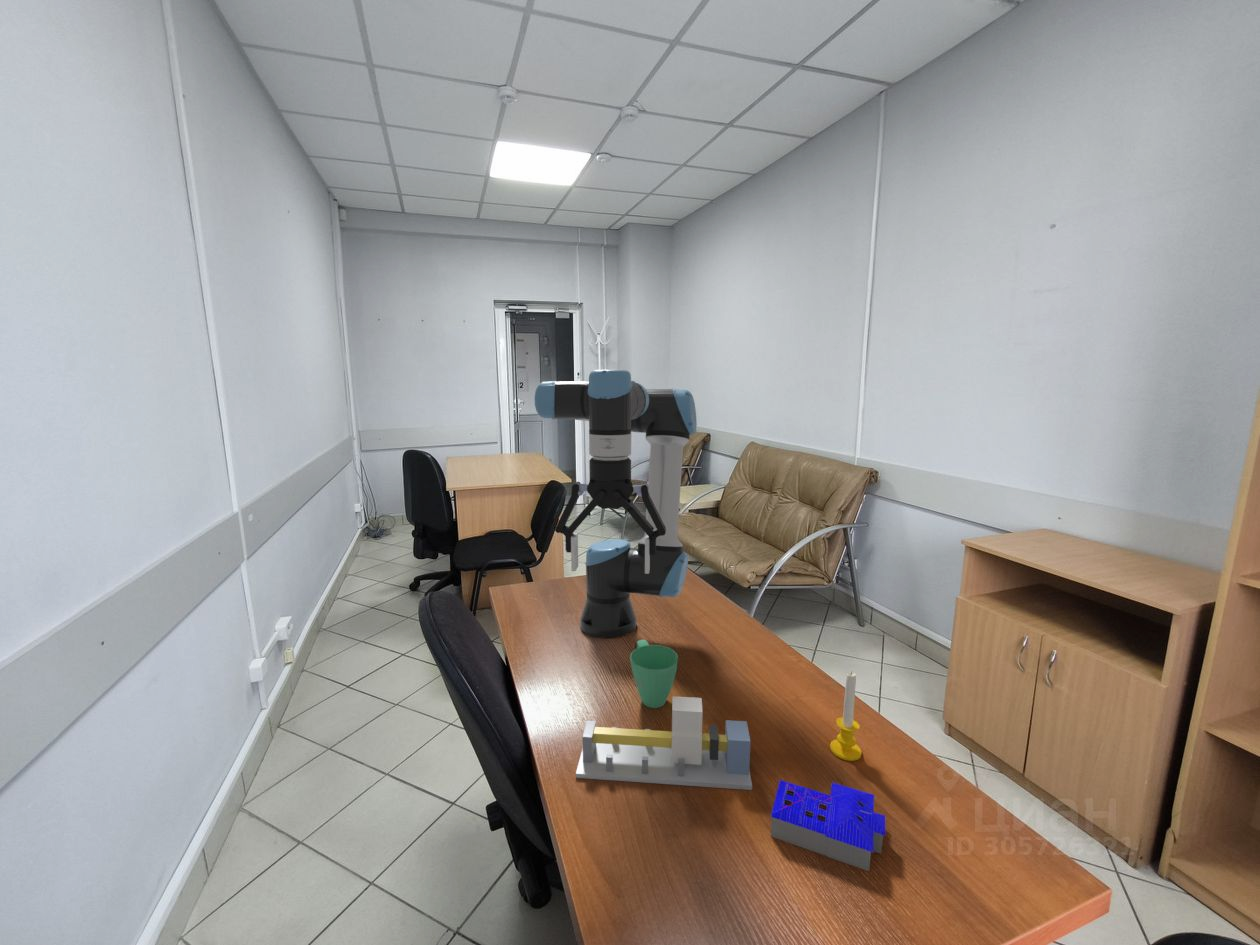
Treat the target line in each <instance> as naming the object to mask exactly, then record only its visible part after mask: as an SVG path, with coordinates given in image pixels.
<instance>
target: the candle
mask: <svg viewBox="0 0 1260 945" xmlns="http://www.w3.org/2000/svg"><path fill="white" fill-rule="evenodd" d="M846 674H847V675H846V679H845V687H844V688H845V689H844V701H843V711H842V712H843V714H842V716H841V717H838V718H836V721H835V724H836V725H837V726H838V727H839V728H840V731H839V732H840V733H838V734H837V736H836V739H833V740H832V741H831V742H830V745H829V747H830V751H831V753H832V754H833V755H834V756H836V757H837V758H839V759H841V760H844V761H847V762H855V761H858V760H860V759H861V757H862V753H863V752H862V749H861V748H860V746H859V745H858V744H857V739H856V738H855V737H854V735H855V733H854V732H857V731H859V730H860V728H861V726H860V724H859V722H858V721H856V720H854V714H855V712H854V711H855V699H856V698H855V697H856V687H857V686H856V684H857V673H855V672H853V671H852V670H851V672H848V673H846Z"/></svg>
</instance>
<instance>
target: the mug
mask: <svg viewBox="0 0 1260 945" xmlns="http://www.w3.org/2000/svg"><path fill="white" fill-rule="evenodd" d="M629 660H630V665H631V667H630V668H631V671H632V672H631V673H632V676H633V679H634V682H635V687H636V688H637V693H638V695H639V697H640V700H641V702H642V704H643V705H644V706H646V707H647V708H651V709H658V708H659V709H660V708H662V707H663V706H664V705H665V704H666V703H667V700H668V697H669V696H670V694H671V690H672V688H673V684H674V681H675V678H676V673H677V669H678V666H679V665H678V664H679V663H678V662H679V655H678V653H677V652H676V651H675V650H674V649H672V648H671V647H668V646H665V645H661V644H659V645H657V644H650V643H648V641H647V640H646V639H640V640H637V641H636V642H635V645H634V650H633V651H632V652H631V653H630V657H629Z"/></svg>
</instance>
